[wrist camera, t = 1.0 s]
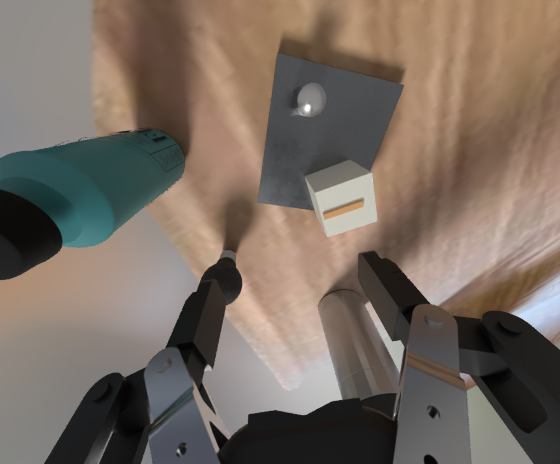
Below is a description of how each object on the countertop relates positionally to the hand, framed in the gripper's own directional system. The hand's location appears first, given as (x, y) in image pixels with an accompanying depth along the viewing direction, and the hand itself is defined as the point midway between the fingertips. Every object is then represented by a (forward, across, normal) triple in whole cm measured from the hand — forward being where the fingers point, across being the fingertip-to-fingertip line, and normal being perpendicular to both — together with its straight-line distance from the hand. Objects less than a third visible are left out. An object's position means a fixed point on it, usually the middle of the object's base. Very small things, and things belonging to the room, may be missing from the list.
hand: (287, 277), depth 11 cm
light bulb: (+20, +10, +11) cm, 24 cm away
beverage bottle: (+19, +13, -6) cm, 24 cm away
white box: (+18, -7, +2) cm, 19 cm away
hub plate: (+19, -6, -3) cm, 20 cm away
